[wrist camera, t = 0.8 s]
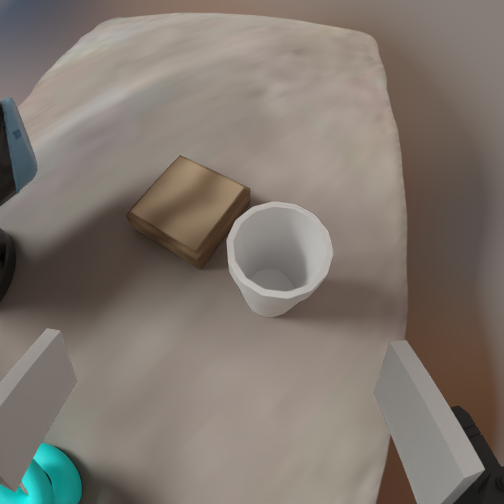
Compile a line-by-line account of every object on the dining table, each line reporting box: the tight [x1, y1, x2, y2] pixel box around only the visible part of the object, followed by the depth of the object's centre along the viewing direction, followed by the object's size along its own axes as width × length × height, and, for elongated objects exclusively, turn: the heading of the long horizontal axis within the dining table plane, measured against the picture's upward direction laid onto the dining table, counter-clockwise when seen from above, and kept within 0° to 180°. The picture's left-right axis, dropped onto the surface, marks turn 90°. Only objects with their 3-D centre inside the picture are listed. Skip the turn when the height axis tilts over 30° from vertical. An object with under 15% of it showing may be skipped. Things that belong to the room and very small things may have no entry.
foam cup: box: [227, 201, 333, 317], centre depth 34 cm, size 10×9×13 cm
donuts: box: [0, 443, 82, 504], centre depth 23 cm, size 10×10×10 cm
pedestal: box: [126, 155, 250, 270], centre depth 43 cm, size 12×12×4 cm
